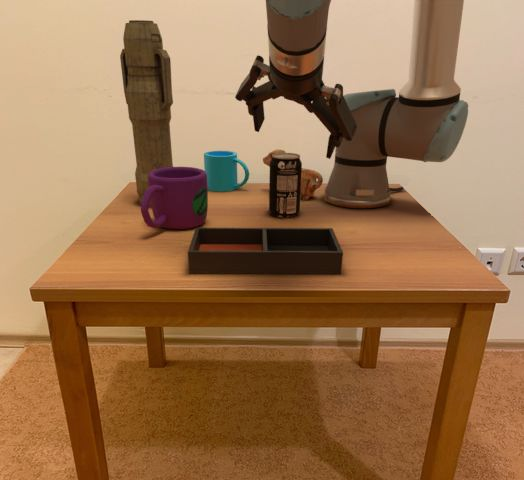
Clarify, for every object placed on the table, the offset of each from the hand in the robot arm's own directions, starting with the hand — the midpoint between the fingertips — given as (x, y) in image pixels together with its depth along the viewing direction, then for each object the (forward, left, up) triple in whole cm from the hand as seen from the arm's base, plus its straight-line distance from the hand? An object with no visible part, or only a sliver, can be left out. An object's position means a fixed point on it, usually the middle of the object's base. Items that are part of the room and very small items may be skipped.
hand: (295, 138), depth 90 cm
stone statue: (+15, -33, -17) cm, 40 cm away
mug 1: (+19, -14, -17) cm, 29 cm away
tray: (+12, +10, -17) cm, 23 cm away
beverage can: (-5, -12, -17) cm, 22 cm away
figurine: (-15, -25, -17) cm, 34 cm away
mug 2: (-4, -38, -17) cm, 42 cm away
